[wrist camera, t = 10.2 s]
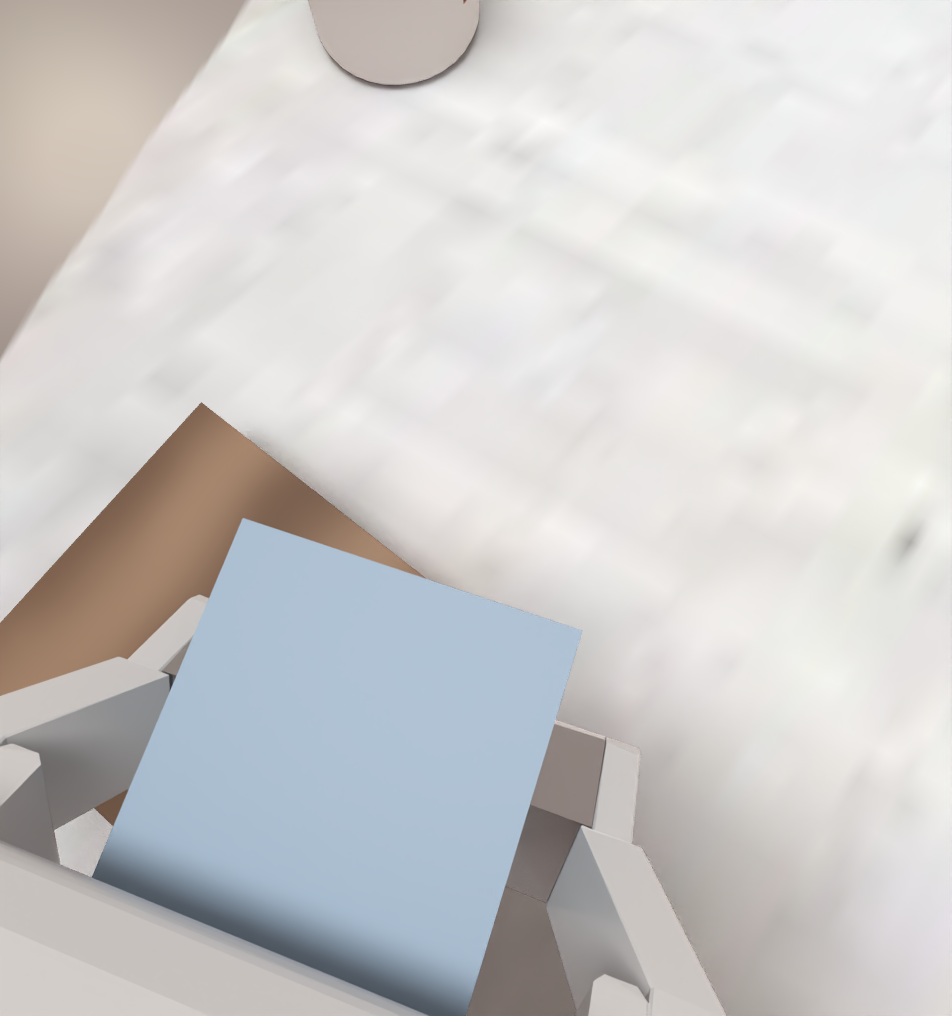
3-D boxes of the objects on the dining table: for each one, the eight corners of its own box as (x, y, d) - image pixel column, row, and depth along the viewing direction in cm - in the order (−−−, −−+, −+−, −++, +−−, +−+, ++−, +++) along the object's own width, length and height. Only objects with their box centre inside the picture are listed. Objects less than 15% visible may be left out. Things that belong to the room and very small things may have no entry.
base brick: (470, 621, 28) (465, 610, 24) (260, 892, 26) (219, 926, 22) (239, 439, 30) (201, 402, 27) (28, 677, 28) (-47, 674, 24)
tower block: (490, 857, 15) (460, 1034, 7) (305, 788, 15) (89, 880, 8) (550, 663, 16) (581, 630, 8) (373, 603, 16) (242, 518, 8)
